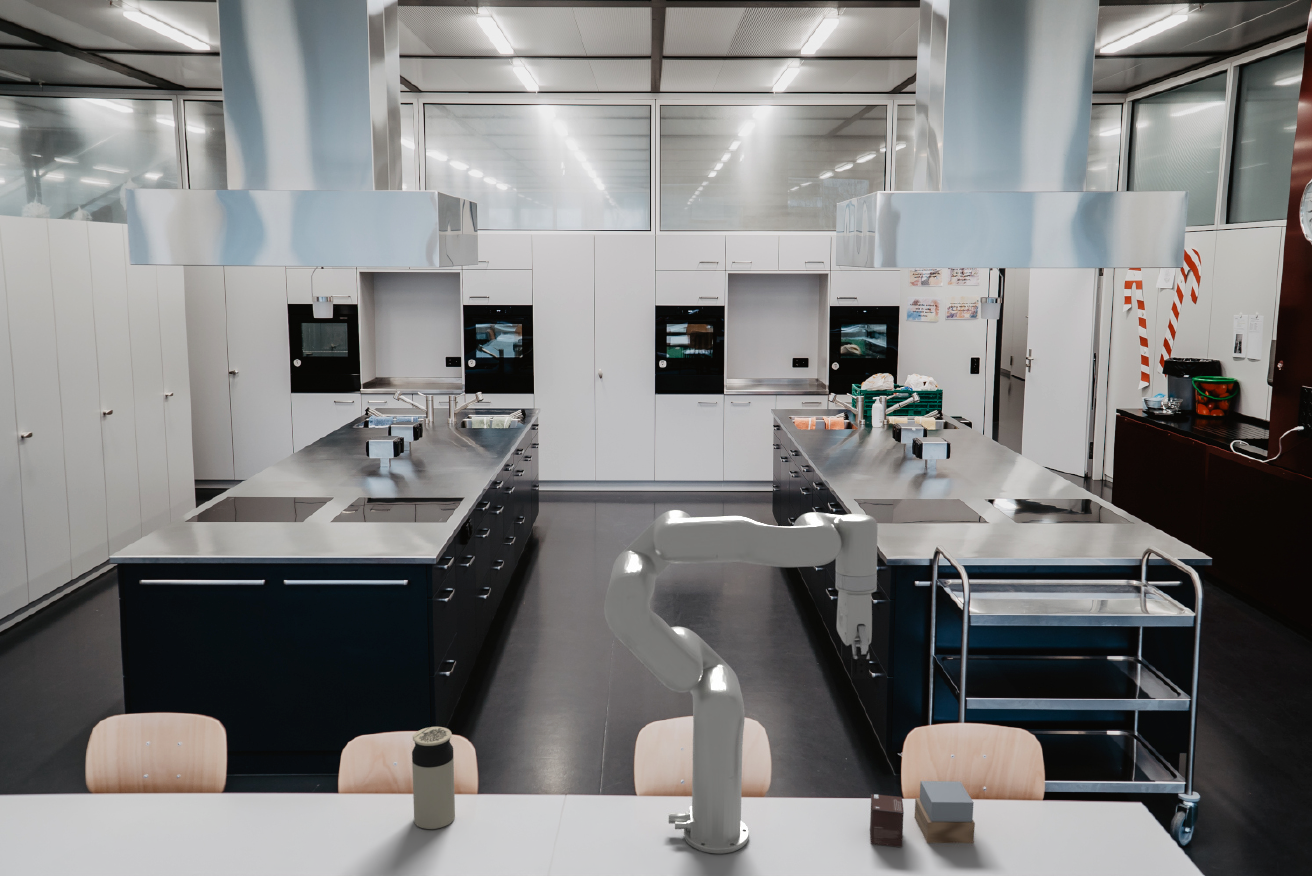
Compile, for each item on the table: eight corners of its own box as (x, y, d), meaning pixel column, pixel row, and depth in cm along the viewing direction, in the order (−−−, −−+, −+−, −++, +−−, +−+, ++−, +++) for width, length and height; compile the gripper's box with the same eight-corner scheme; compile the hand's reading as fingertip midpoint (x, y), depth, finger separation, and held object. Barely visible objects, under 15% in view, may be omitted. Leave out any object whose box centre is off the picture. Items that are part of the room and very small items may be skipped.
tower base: (926, 843, 183) (927, 822, 183) (914, 818, 192) (915, 797, 192) (973, 844, 183) (974, 822, 183) (958, 818, 192) (960, 798, 192)
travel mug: (463, 816, 191) (461, 732, 189) (434, 834, 185) (431, 747, 182) (434, 804, 195) (432, 722, 193) (405, 822, 189) (402, 737, 186)
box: (902, 848, 181) (904, 812, 180) (870, 844, 182) (871, 809, 181) (900, 831, 187) (902, 796, 186) (869, 827, 188) (870, 793, 187)
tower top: (930, 821, 183) (931, 801, 182) (919, 799, 191) (920, 780, 190) (972, 821, 183) (973, 802, 182) (959, 799, 191) (960, 781, 190)
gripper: (827, 567, 186) (827, 651, 188) (844, 595, 169) (843, 687, 171) (866, 567, 186) (864, 650, 188) (887, 594, 169) (885, 686, 171)
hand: (854, 668), depth 180 cm, fingers open, 9 cm apart
